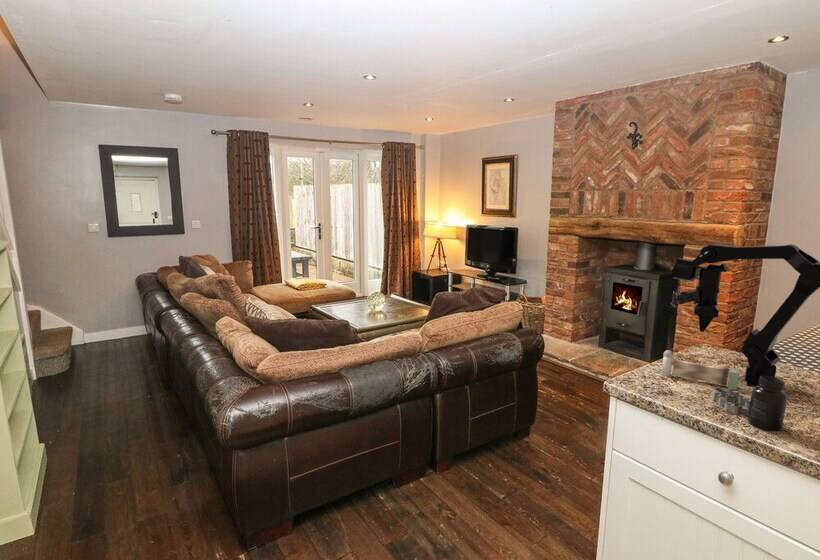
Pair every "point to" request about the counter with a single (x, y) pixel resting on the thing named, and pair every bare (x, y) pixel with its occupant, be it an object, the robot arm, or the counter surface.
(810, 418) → the counter surface
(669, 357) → the hinge post
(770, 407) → the supplement bottle
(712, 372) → the gate
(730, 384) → the latch post
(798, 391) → the counter surface
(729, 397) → the egg carton
